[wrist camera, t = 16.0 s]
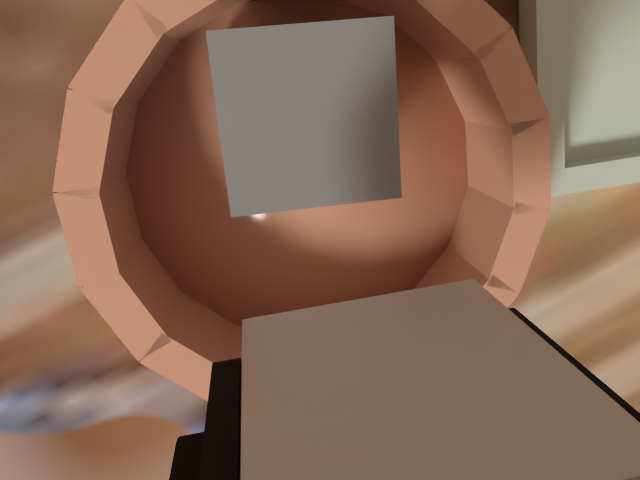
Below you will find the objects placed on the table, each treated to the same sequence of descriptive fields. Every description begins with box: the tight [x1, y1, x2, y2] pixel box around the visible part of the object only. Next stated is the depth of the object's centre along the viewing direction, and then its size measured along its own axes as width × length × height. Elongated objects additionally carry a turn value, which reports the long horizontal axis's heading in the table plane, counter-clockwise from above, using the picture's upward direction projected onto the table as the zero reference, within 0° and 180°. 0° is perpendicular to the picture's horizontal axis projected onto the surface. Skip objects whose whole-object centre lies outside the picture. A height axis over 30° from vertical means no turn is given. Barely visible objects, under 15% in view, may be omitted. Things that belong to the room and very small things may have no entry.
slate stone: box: [206, 16, 402, 217], centre depth 16 cm, size 4×4×6 cm
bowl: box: [53, 0, 551, 401], centre depth 18 cm, size 14×14×4 cm
